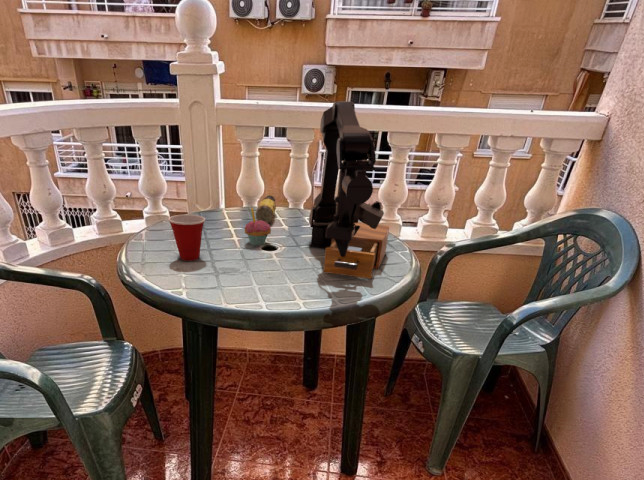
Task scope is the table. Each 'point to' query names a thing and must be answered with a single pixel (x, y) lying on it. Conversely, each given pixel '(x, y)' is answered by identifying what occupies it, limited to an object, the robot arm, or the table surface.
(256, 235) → the cupcake
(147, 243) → the table surface
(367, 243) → the wooden drawer
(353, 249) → the block
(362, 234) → the cabinet
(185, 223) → the plastic cup
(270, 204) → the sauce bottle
